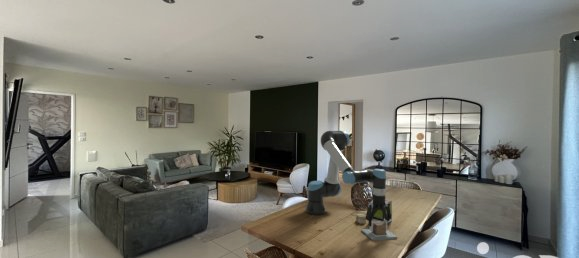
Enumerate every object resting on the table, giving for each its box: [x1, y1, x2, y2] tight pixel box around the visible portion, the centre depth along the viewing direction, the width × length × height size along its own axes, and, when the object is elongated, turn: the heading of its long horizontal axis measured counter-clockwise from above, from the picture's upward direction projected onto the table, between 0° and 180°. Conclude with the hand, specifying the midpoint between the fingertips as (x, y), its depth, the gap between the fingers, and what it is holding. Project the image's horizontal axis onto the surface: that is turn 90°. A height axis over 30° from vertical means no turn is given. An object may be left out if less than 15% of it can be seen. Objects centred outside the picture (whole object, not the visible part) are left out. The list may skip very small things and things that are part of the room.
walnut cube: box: [373, 221, 386, 235], centre depth 155 cm, size 6×6×6 cm
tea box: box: [368, 199, 393, 224], centre depth 176 cm, size 15×10×15 cm
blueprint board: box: [360, 227, 398, 241], centre depth 155 cm, size 14×16×1 cm
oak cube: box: [355, 213, 367, 225], centre depth 175 cm, size 5×5×5 cm
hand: (378, 230), depth 155 cm, fingers open, 9 cm apart
